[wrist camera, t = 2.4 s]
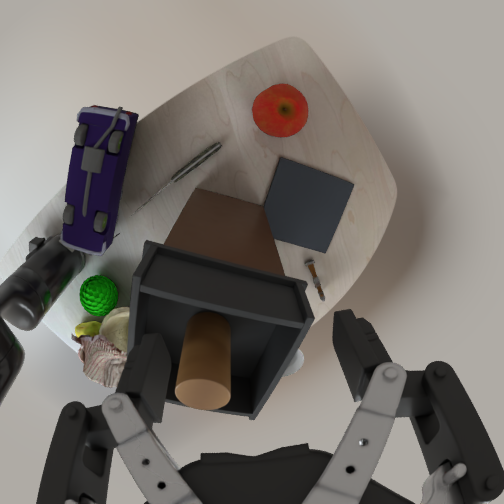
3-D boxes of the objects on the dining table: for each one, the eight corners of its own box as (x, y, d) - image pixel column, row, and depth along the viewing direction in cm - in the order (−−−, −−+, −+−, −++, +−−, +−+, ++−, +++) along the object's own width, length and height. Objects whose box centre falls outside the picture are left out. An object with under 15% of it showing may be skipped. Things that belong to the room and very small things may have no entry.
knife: (133, 218, 49) (127, 224, 46) (128, 213, 48) (122, 218, 45) (223, 146, 44) (222, 148, 42) (218, 140, 44) (217, 141, 41)
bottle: (82, 318, 60) (123, 380, 65) (64, 331, 55) (109, 395, 60) (104, 315, 55) (150, 385, 60) (84, 331, 49) (135, 402, 54)
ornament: (73, 313, 44) (96, 326, 53) (110, 302, 46) (129, 318, 55) (71, 274, 48) (92, 292, 57) (105, 263, 49) (123, 283, 58)
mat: (254, 232, 51) (254, 233, 51) (280, 157, 46) (281, 157, 45) (324, 252, 54) (325, 253, 53) (353, 183, 48) (354, 184, 48)
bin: (172, 253, 52) (120, 393, 24) (190, 178, 46) (124, 272, 18) (247, 273, 55) (260, 420, 26) (272, 201, 49) (322, 319, 21)
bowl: (121, 296, 60) (125, 282, 48) (185, 339, 65) (206, 336, 53) (90, 346, 53) (85, 345, 41) (158, 389, 57) (172, 399, 45)
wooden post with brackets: (317, 298, 57) (320, 303, 53) (303, 262, 57) (305, 264, 53) (325, 295, 57) (328, 300, 52) (311, 258, 57) (314, 260, 52)
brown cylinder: (183, 339, 27) (171, 404, 20) (191, 306, 25) (178, 373, 18) (224, 348, 28) (223, 413, 21) (235, 317, 26) (237, 385, 19)
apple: (269, 79, 40) (278, 66, 30) (310, 107, 42) (331, 103, 33) (240, 118, 43) (242, 117, 33) (283, 145, 45) (296, 152, 35)
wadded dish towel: (54, 362, 45) (76, 327, 42) (64, 343, 51) (86, 307, 48) (114, 399, 51) (144, 371, 48) (119, 378, 56) (148, 348, 53)
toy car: (105, 263, 42) (121, 237, 50) (135, 110, 32) (151, 110, 41) (53, 248, 39) (76, 225, 48) (73, 99, 30) (99, 100, 38)
